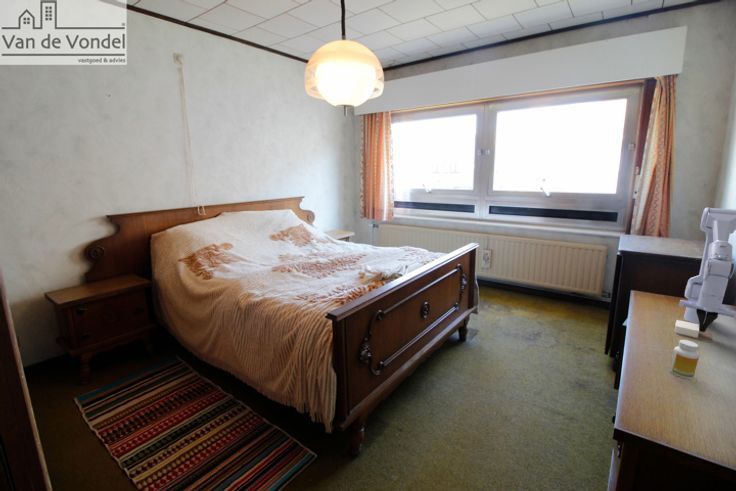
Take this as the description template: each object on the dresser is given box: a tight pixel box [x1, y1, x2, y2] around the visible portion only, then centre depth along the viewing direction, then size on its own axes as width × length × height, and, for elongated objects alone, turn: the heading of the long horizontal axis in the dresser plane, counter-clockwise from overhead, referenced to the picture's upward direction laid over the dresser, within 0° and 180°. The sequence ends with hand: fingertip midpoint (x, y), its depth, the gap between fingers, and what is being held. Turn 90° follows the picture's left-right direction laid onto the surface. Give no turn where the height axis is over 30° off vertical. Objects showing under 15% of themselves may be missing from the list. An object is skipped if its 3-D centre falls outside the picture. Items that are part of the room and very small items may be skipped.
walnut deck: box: [684, 331, 713, 343], centre depth 122 cm, size 8×7×1 cm
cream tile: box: [674, 319, 700, 339], centre depth 124 cm, size 7×6×2 cm
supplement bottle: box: [668, 339, 700, 380], centre depth 100 cm, size 5×5×10 cm
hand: (701, 330), depth 121 cm, fingers closed
